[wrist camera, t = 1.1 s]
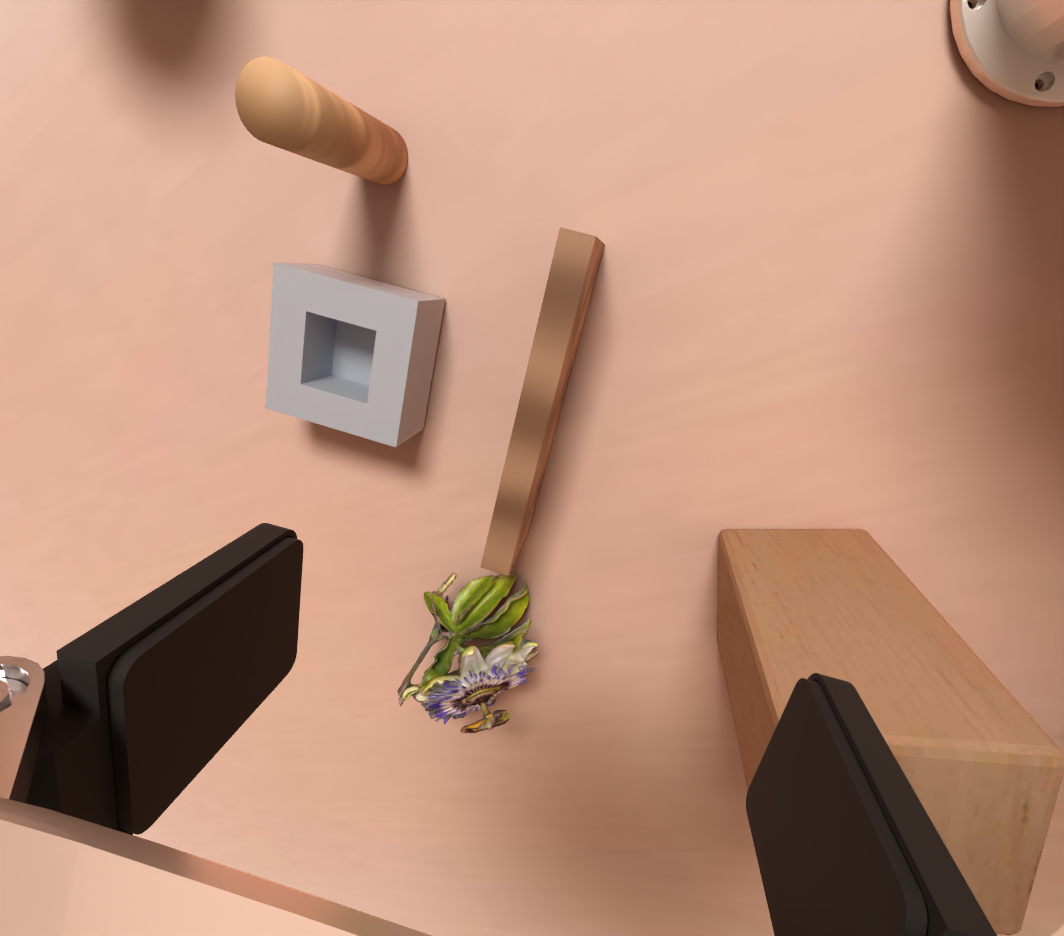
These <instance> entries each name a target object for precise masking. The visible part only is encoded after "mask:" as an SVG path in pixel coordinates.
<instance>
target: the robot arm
mask: <svg viewBox="0 0 1064 936" xmlns="http://www.w3.org/2000/svg"><path fill="white" fill-rule="evenodd" d="M967 2H971V3H972V5H973V7H972V9H971V8H969V6H968V3H967ZM950 13H951V22H952V30H953V35H954V38H955V41H956V44H957V47H958V49H959V52H960V55H961V57H962V58H963V60H964V62H965V63H966V65H967V66H968V68H969V69H970V71H971V73H972V74H973V75H974V76H975V77H976V78H977V79H978V80H979V81H980V82H981V83H983V84H984V85H985V86H986V87H987V88H988V89H989V90H991V91H993V92H995V93H997V94H999V95H1000V96H1002V97H1004V98H1006V99H1008V100H1011V101H1015V102H1019V103H1022V104H1026V105H1030V106H1047V107H1059V106H1064V0H950ZM1035 82H1036V83H1037V84H1038V89H1037V90H1036V88H1035ZM302 562H303V543H302V541H301V540H298V539H297V535H296V533H295V532H294V531H293V530H290V529H287V528H283V527H279V526H276V525H272V524H268V523H262V524H260V525H258V526H256V527H255V528H253V529H252V530H250V531H248V532H247V533H245V534H244V535H242V536H240V537H239V538H237V539H236V540H234V541H232V542H231V543H229V544H228V545H226V546H224V547H223V548H221V549H220V550H218V551H216V552H215V553H213V554H211V555H210V556H208V557H207V558H205V559H203V560H202V561H200V562H199V563H197V564H195V565H194V566H192V567H191V568H189V569H187V570H186V571H184V572H183V573H181V574H179V575H178V576H176V577H175V578H173V579H171V580H170V581H168V582H167V583H165V584H163V585H162V586H160V587H159V588H157V589H155V590H154V591H152V592H151V593H149V594H147V595H146V596H144V597H142V598H141V599H139V600H138V601H136V602H134V603H133V604H131V605H130V606H128V607H126V608H125V609H123V610H122V611H120V612H118V613H117V614H115V615H114V616H112V617H110V618H109V619H107V620H106V621H104V622H102V623H101V624H99V625H98V626H96V627H94V628H93V629H91V630H90V631H88V632H86V633H85V634H83V635H82V636H80V637H78V638H77V639H75V640H73V641H72V642H70V643H69V644H67V645H65V646H64V647H62V648H61V649H59V650H57V659H58V660H56V661H55V662H53V663H52V664H50V665H48V666H47V667H45V668H44V669H42V668H41V667H40V666H39V664H38V663H36V662H33V661H31V660H28V659H26V658H20V657H11V656H2V657H0V936H431V935H428V934H425V933H422V932H419V931H416V930H413V929H410V928H408V927H405V926H402V925H399V924H396V923H393V922H390V921H387V920H384V919H381V918H378V917H375V916H372V915H369V914H366V913H364V912H361V911H358V910H355V909H352V908H349V907H346V906H343V905H340V904H337V903H334V902H331V901H328V900H325V899H322V898H319V897H316V896H313V895H310V894H308V893H305V892H302V891H299V890H296V889H293V888H290V887H287V886H284V885H281V884H278V883H275V882H272V881H269V880H266V879H263V878H260V877H257V876H254V875H251V874H248V873H245V872H242V871H239V870H236V869H233V868H230V867H227V866H224V865H221V864H218V863H215V862H212V861H209V860H206V859H203V858H200V857H197V856H194V855H191V854H188V853H185V852H182V851H179V850H176V849H173V848H170V847H167V846H164V845H161V844H158V843H155V842H152V841H149V840H146V839H143V838H139V837H136V836H133V833H134V834H141V833H143V832H144V831H146V830H147V829H148V828H149V827H150V826H151V825H152V824H153V823H154V822H155V821H156V820H157V819H158V818H159V817H160V816H161V814H162V813H163V812H164V811H165V810H166V809H167V808H168V807H169V806H170V804H171V803H172V802H173V801H174V800H175V799H176V798H177V797H178V796H179V794H180V793H181V792H182V791H183V790H184V789H185V788H186V787H187V786H188V784H189V783H190V782H191V781H192V780H193V779H194V778H195V777H196V776H197V774H198V773H199V772H200V771H201V770H202V769H203V768H204V767H205V765H206V764H207V763H208V762H209V761H210V760H211V759H212V758H213V757H214V755H215V754H216V753H217V752H218V751H219V750H220V749H221V748H222V747H223V745H224V744H225V743H226V742H227V741H228V740H229V739H230V738H231V737H232V735H233V734H234V733H235V732H236V731H237V730H238V729H239V728H240V727H241V725H242V724H243V723H244V722H245V721H246V720H247V719H248V718H249V717H250V715H251V714H252V713H253V712H254V711H255V710H256V709H257V708H258V707H259V705H260V704H261V703H262V702H263V701H264V700H265V699H266V698H267V697H268V695H269V694H270V693H271V692H272V691H273V690H274V689H275V688H276V687H277V685H278V684H279V683H280V682H281V681H282V680H283V679H284V678H285V677H286V675H287V674H288V673H289V672H290V670H291V668H292V667H293V664H294V662H295V659H296V654H297V641H298V625H299V609H300V593H301V578H302ZM746 809H747V815H748V820H749V824H750V828H751V833H752V837H753V842H754V846H755V851H756V855H757V859H758V864H759V868H760V873H761V877H762V881H763V886H764V890H765V895H766V899H767V904H768V908H769V912H770V917H771V921H772V926H773V930H774V935H775V936H997V935H996V933H995V931H994V929H993V928H992V926H991V924H990V922H989V921H988V919H987V917H986V915H985V914H984V912H983V910H982V908H981V907H980V905H979V903H978V902H977V900H976V898H975V896H974V895H973V893H972V891H971V889H970V888H969V886H968V884H967V882H966V881H965V879H964V877H963V875H962V874H961V872H960V870H959V868H958V867H957V865H956V863H955V861H954V860H953V858H952V856H951V854H950V853H949V851H948V849H947V847H946V846H945V844H944V842H943V840H942V839H941V837H940V835H939V833H938V832H937V830H936V828H935V826H934V825H933V823H932V821H931V819H930V818H929V816H928V814H927V812H926V811H925V809H924V807H923V805H922V804H921V802H920V800H919V798H918V797H917V795H916V793H915V791H914V790H913V788H912V786H911V785H910V783H909V781H908V779H907V778H906V776H905V774H904V772H903V771H902V769H901V767H900V765H899V764H898V762H897V760H896V758H895V757H894V755H893V753H892V751H891V750H890V748H889V746H888V744H887V743H886V741H885V739H884V737H883V736H882V734H881V732H880V730H879V729H878V727H877V725H876V723H875V722H874V720H873V718H872V716H871V715H870V713H869V711H868V709H867V708H866V706H865V704H864V702H863V701H862V699H861V697H860V695H859V694H858V692H857V690H856V688H855V687H854V686H853V685H852V683H850V682H848V681H844V680H841V679H837V678H833V677H830V676H826V675H822V674H819V673H813V674H812V675H810V676H809V678H808V679H805V678H801V679H799V680H798V681H797V683H796V685H795V687H794V689H793V691H792V694H791V696H790V698H789V700H788V702H787V705H786V707H785V709H784V711H783V713H782V716H781V718H780V720H779V722H778V724H777V727H776V729H775V731H774V733H773V735H772V738H771V740H770V742H769V744H768V746H767V749H766V751H765V753H764V755H763V757H762V760H761V762H760V764H759V766H758V768H757V771H756V773H755V775H754V777H753V779H752V782H751V784H750V786H749V789H748V792H747V798H746Z"/></svg>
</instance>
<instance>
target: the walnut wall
mask: <svg viewBox="0 0 1064 936" xmlns="http://www.w3.org/2000/svg"><path fill="white" fill-rule="evenodd" d="M604 245H605V244H604V243H603V242H601V241H600V240H599V239H598V238H597V237H596V236H592V235H588V234H584V233H580V232H576V231H572V230H568V229H564V228H560V230H559V234H558V239H557V243H556V247H555V252H554V256H553V260H552V264H551V269H550V273H549V277H548V281H547V286H546V290H545V294H544V299H543V303H542V307H541V311H540V316H539V320H538V324H537V328H536V333H535V337H534V341H533V346H532V350H531V354H530V358H529V363H528V367H527V371H526V375H525V380H524V384H523V388H522V393H521V397H520V401H519V405H518V410H517V414H516V418H515V423H514V427H513V431H512V435H511V440H510V444H509V448H508V452H507V457H506V461H505V465H504V470H503V474H502V478H501V482H500V487H499V491H498V495H497V499H496V504H495V508H494V512H493V517H492V521H491V525H490V529H489V534H488V538H487V542H486V546H485V551H484V555H483V559H482V564H481V567H482V568H485V569H488V570H491V571H494V572H497V573H500V574H503V575H507V576H508V575H509V573H510V571H511V569H512V567H513V564H514V562H515V560H516V558H517V556H518V554H519V551H520V549H521V547H522V545H523V543H524V541H525V538H526V536H527V534H528V532H529V528H530V524H531V521H532V517H533V513H534V509H535V505H536V502H537V498H538V494H539V490H540V487H541V483H542V479H543V475H544V471H545V468H546V464H547V460H548V456H549V453H550V449H551V445H552V441H553V437H554V434H555V430H556V426H557V422H558V419H559V415H560V411H561V407H562V403H563V400H564V396H565V392H566V388H567V385H568V381H569V377H570V373H571V369H572V366H573V362H574V358H575V354H576V351H577V347H578V343H579V339H580V336H581V332H582V328H583V324H584V320H585V317H586V313H587V309H588V305H589V302H590V298H591V294H592V290H593V286H594V283H595V279H596V275H597V271H598V268H599V264H600V260H601V256H602V252H603V249H604Z"/></svg>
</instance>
